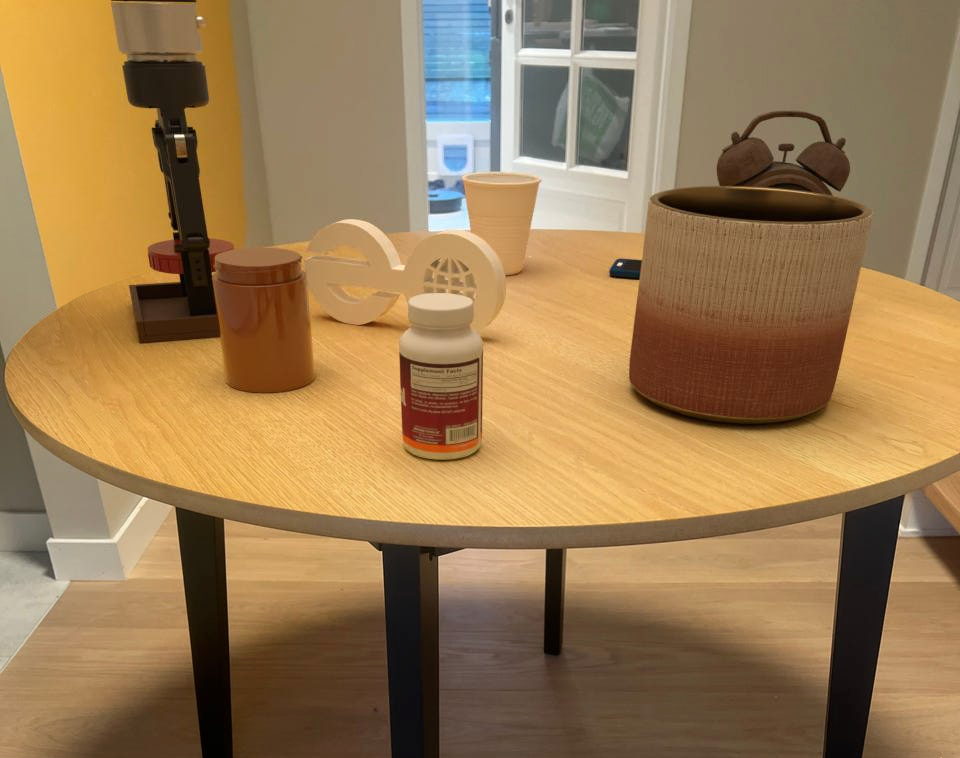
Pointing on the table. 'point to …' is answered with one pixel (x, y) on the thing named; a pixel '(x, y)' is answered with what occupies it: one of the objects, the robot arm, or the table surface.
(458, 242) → the cream logo sign
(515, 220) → the cup
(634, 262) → the cell phone
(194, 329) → the tray
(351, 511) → the table surface
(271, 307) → the jar
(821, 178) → the alarm clock
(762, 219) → the planter
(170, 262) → the jar lid
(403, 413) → the pill bottle
